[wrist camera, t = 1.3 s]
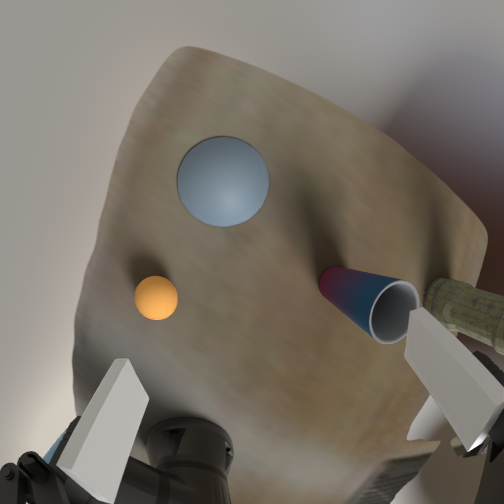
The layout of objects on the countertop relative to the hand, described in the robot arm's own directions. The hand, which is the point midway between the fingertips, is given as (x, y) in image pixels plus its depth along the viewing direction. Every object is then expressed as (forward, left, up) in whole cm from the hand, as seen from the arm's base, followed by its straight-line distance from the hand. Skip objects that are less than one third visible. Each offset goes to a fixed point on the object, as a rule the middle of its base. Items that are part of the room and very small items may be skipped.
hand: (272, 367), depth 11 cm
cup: (+6, -15, -26) cm, 30 cm away
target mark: (+10, +6, -26) cm, 28 cm away
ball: (-7, +6, -23) cm, 25 cm away
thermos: (+14, -38, -26) cm, 48 cm away
